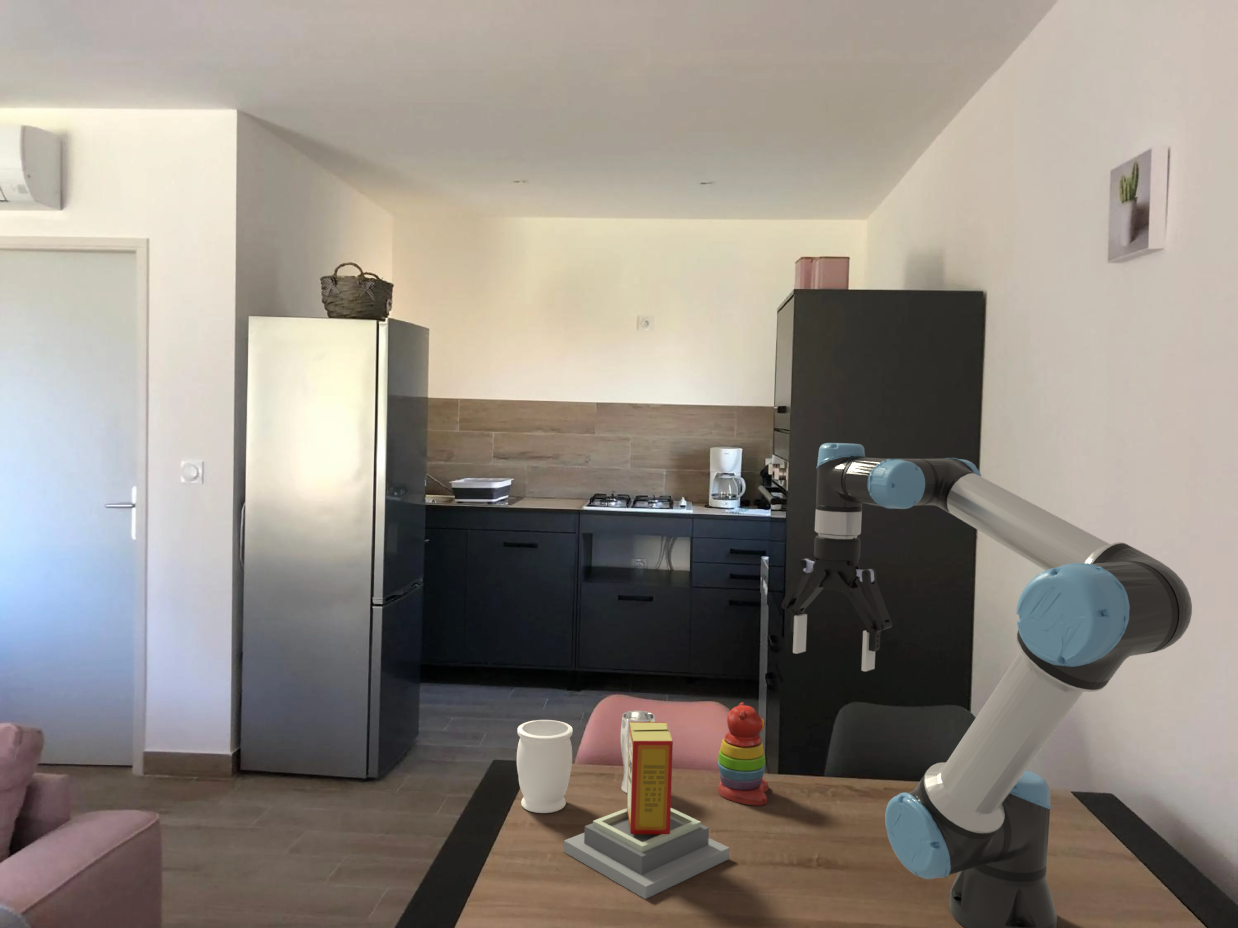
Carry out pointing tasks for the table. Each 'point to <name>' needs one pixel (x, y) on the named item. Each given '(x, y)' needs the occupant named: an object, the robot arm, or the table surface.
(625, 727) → the beer glass
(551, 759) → the jar
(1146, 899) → the table surface
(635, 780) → the baking soda box
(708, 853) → the plinth
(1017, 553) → the robot arm
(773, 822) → the table surface
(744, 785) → the stacking bear
